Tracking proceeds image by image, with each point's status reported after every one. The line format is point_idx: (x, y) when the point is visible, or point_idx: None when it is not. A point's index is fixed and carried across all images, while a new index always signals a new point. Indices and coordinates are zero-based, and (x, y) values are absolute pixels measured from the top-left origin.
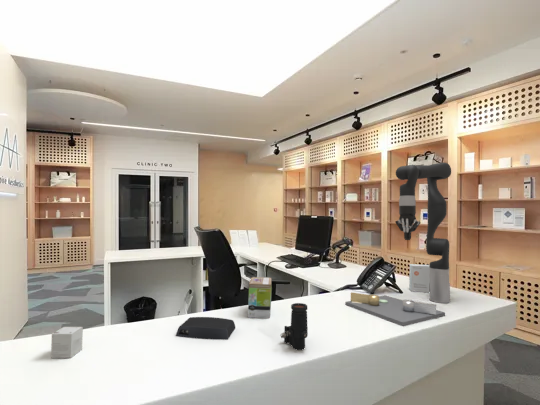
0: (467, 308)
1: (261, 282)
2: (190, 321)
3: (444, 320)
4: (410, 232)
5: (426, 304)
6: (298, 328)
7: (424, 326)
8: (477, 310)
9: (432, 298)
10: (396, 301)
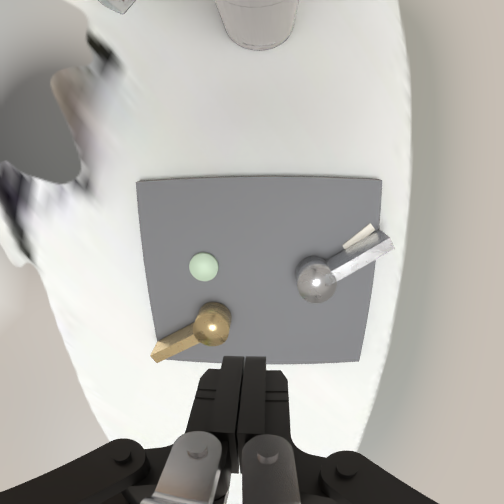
0: (363, 31)
1: None
2: None
3: (397, 225)
4: (294, 456)
5: (369, 262)
6: None
7: (387, 315)
8: (388, 30)
9: (251, 46)
10: (217, 215)
